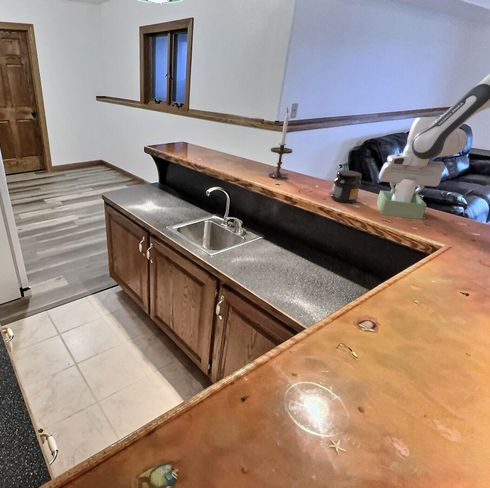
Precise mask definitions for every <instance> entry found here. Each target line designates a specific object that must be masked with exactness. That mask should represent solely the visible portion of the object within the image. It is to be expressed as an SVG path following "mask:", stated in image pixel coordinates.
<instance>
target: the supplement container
mask: <svg viewBox="0 0 490 488" xmlns="http://www.w3.org/2000/svg"><path fill="white" fill-rule="evenodd" d="M361 179H362V173H361V172H358V171H354V170H345V169H343V170H338V171H337V172H336V177H335V178H333V185H332V189H331V193H330V199H331V200H333V201H335V202H337V201H338V203H342V202H343V204H352V203H355V202H356V201H357V199H358V195H359V191H360V187H361V185H362V182H361Z"/></svg>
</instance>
